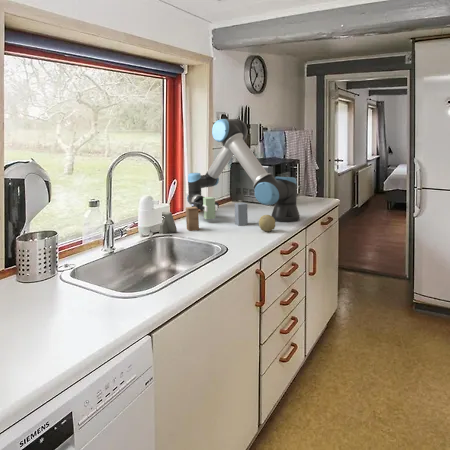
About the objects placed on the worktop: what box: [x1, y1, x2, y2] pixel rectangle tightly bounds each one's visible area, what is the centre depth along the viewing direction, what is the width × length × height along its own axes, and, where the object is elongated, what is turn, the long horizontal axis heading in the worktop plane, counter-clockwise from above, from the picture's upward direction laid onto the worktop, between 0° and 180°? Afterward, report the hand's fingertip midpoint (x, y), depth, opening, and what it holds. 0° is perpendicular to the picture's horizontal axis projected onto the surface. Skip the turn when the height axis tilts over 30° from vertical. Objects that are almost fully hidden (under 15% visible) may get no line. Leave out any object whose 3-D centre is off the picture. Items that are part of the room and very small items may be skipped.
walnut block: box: [185, 206, 200, 232], centre depth 219 cm, size 5×5×11 cm
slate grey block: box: [234, 202, 249, 227], centre depth 228 cm, size 5×5×11 cm
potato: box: [258, 214, 276, 232], centre depth 211 cm, size 8×8×8 cm
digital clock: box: [158, 210, 177, 234], centre depth 217 cm, size 16×9×11 cm, turn 45°
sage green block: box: [202, 196, 216, 220], centre depth 235 cm, size 5×5×11 cm
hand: (212, 208), depth 230 cm, fingers closed on sage green block, 5 cm apart
